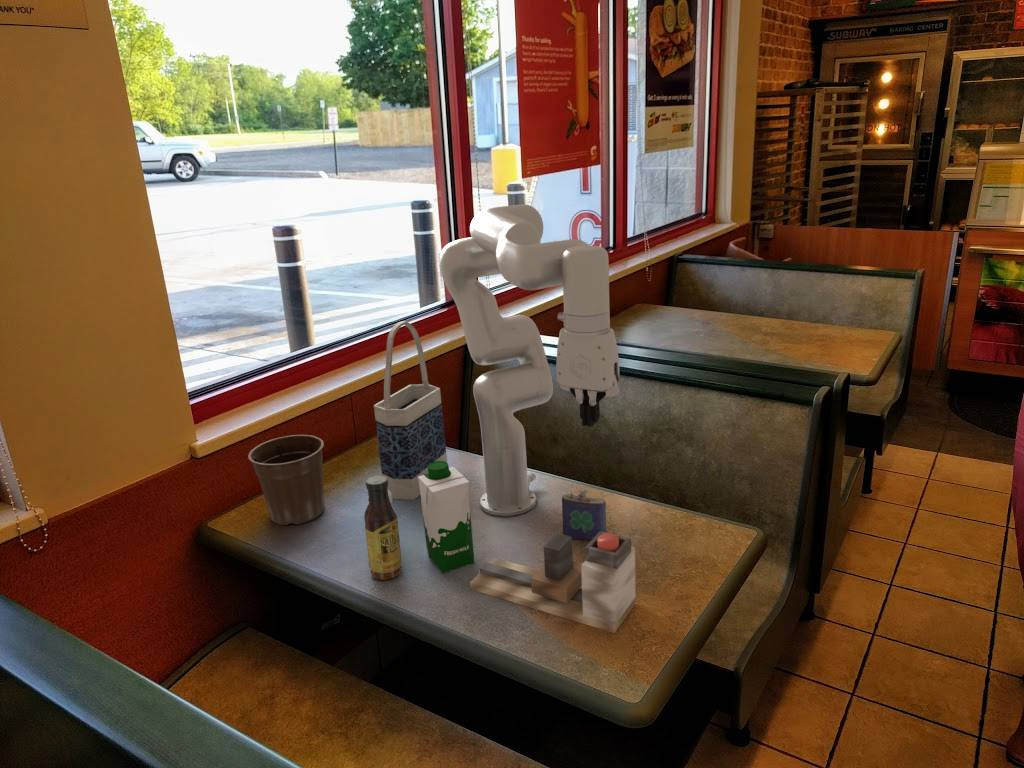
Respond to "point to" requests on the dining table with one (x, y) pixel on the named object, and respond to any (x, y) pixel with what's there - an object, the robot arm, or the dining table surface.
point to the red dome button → (608, 542)
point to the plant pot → (291, 477)
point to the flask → (583, 516)
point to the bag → (408, 427)
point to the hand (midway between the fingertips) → (590, 423)
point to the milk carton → (446, 517)
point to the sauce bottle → (382, 531)
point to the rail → (593, 604)
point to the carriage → (558, 571)
